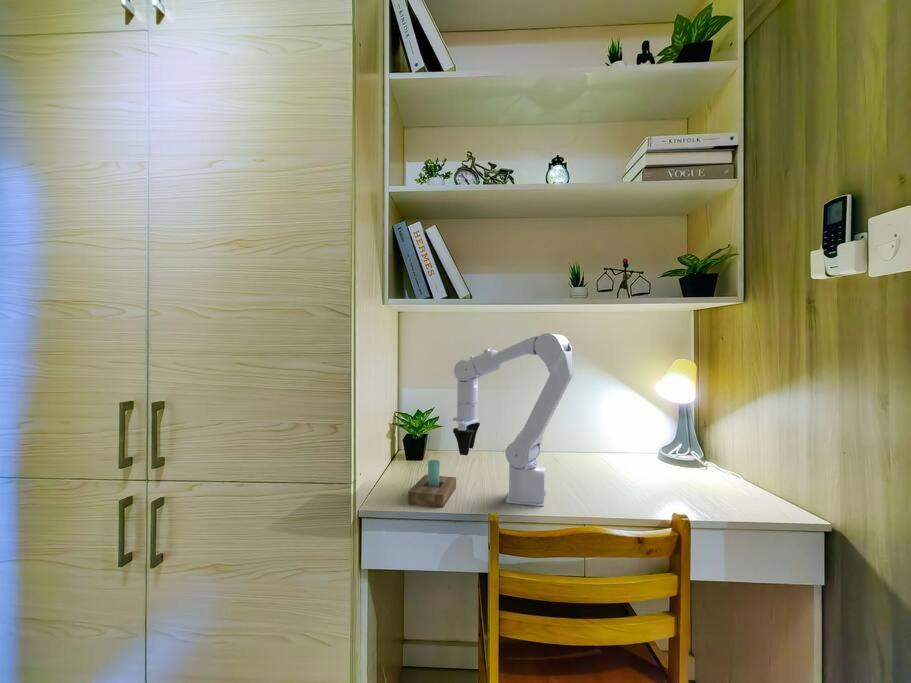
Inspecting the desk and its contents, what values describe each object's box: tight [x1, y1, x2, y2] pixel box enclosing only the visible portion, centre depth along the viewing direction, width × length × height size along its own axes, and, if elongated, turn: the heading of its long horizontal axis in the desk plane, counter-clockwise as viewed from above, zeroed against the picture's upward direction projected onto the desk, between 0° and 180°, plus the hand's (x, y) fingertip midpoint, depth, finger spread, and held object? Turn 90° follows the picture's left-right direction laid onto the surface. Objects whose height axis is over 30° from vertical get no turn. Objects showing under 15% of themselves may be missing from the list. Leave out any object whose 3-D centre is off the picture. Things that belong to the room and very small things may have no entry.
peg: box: [427, 459, 441, 488], centre depth 111 cm, size 3×3×9 cm
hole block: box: [407, 474, 457, 508], centre depth 111 cm, size 9×14×3 cm, turn 167°
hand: (466, 451), depth 118 cm, fingers open, 7 cm apart
